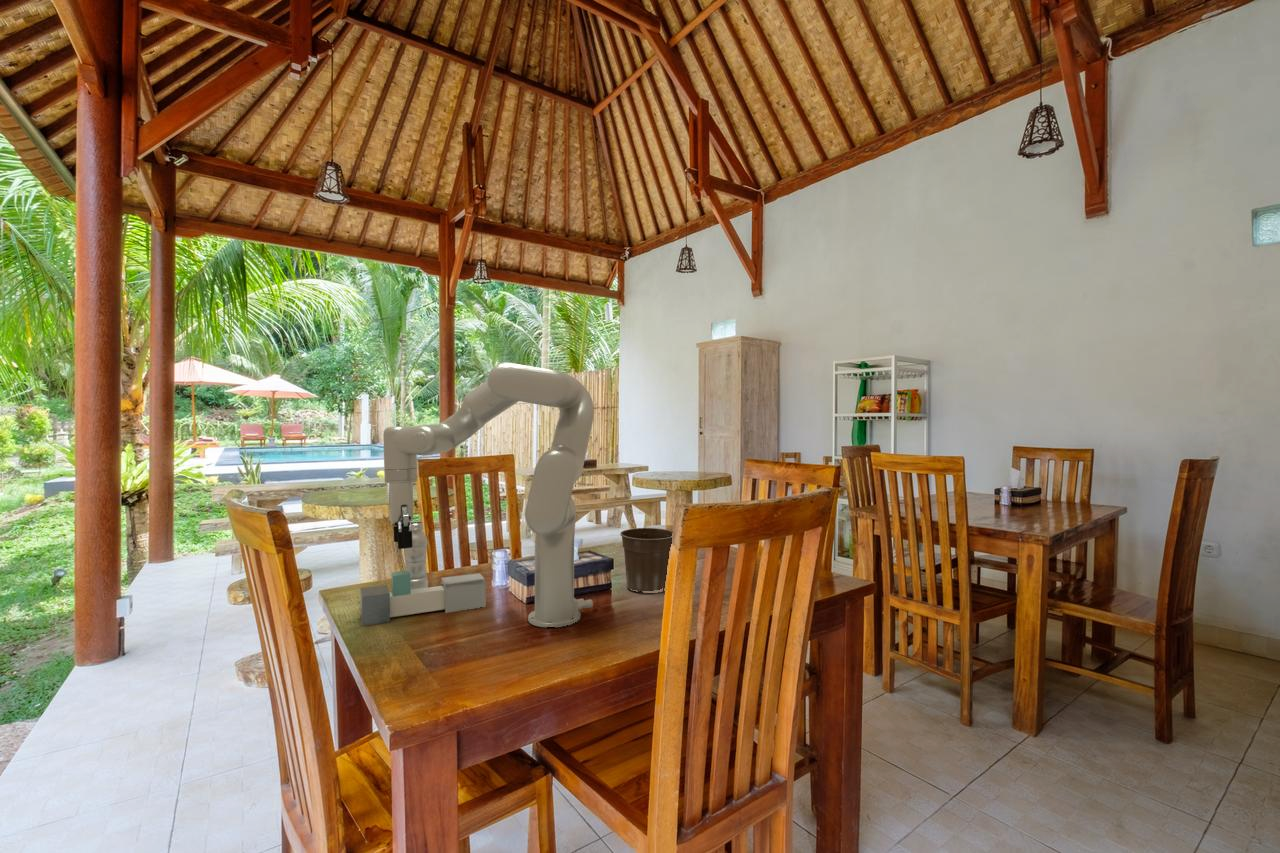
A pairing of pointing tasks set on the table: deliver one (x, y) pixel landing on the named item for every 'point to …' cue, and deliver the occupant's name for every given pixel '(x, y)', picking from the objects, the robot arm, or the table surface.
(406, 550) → the plastic bottle
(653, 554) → the plant pot
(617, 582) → the table surface
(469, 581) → the gray rectangular block
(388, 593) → the socket block
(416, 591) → the long white box
